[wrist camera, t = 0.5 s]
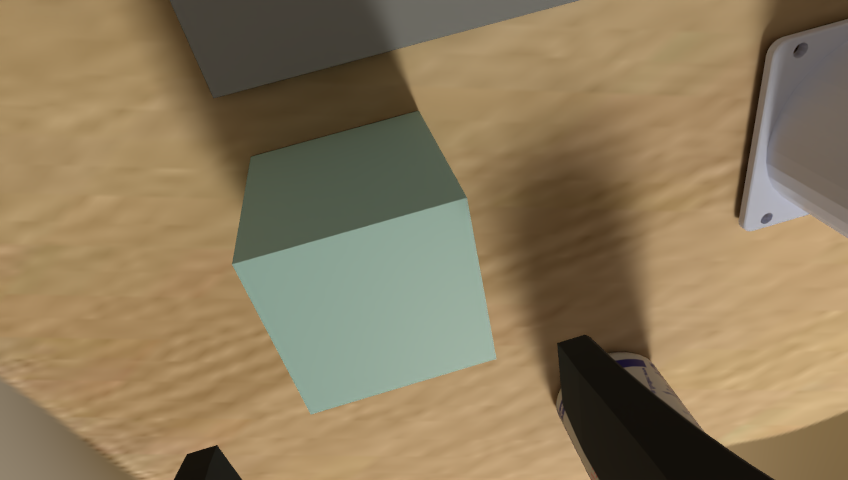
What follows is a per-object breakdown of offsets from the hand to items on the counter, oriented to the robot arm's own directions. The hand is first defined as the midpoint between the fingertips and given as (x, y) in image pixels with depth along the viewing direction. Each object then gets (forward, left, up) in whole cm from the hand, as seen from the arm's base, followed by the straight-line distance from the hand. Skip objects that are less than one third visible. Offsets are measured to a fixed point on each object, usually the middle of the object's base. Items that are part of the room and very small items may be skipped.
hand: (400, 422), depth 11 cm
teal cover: (0, 0, -9) cm, 9 cm away
